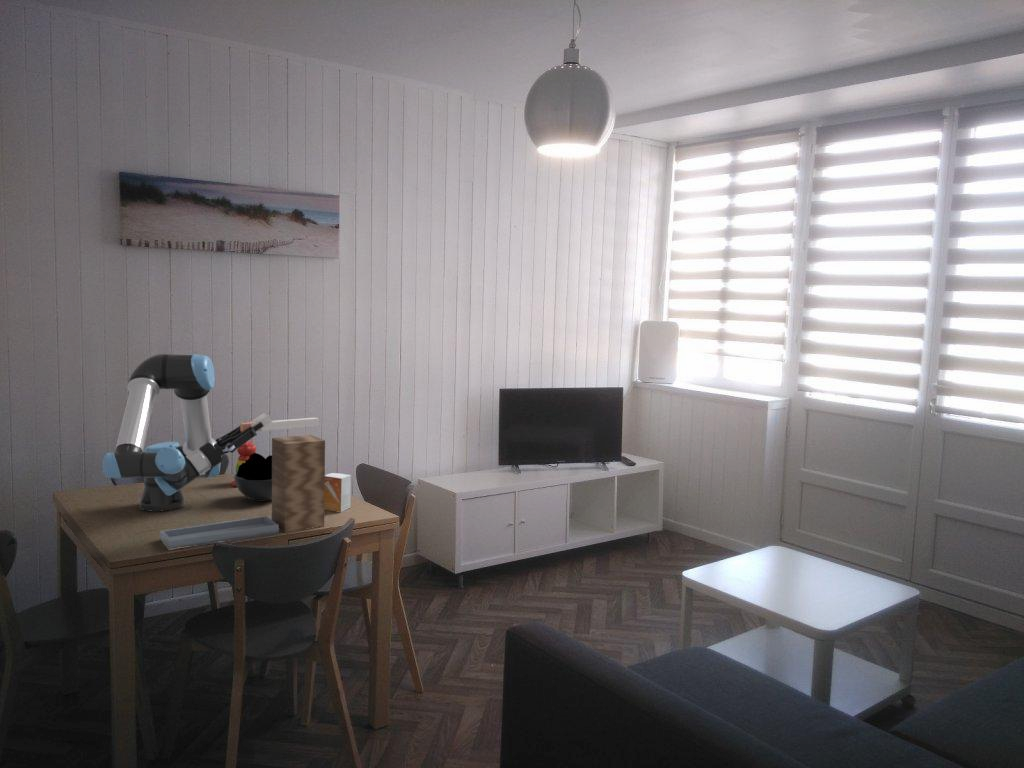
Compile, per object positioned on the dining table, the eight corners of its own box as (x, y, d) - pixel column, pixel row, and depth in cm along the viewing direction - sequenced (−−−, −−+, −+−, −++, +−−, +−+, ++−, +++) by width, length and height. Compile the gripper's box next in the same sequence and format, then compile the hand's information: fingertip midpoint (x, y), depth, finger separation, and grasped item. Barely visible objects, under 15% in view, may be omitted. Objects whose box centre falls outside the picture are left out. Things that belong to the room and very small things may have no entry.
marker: (243, 432, 247) (242, 424, 247) (240, 431, 249) (240, 423, 249) (319, 425, 263) (319, 418, 263) (315, 424, 265) (315, 417, 265)
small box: (322, 509, 283) (322, 475, 282) (332, 505, 289) (332, 472, 288) (341, 512, 280) (341, 478, 279) (350, 508, 286) (351, 474, 285)
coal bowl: (230, 507, 282) (230, 457, 280) (238, 493, 301) (238, 446, 299) (286, 506, 286) (286, 457, 284) (291, 493, 305) (291, 446, 303)
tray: (169, 550, 233) (169, 541, 233) (159, 540, 243) (159, 531, 242) (278, 533, 254) (278, 524, 253) (265, 524, 263) (265, 515, 263)
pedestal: (284, 532, 255) (285, 444, 252) (271, 523, 264) (272, 438, 261) (324, 526, 263) (325, 440, 260) (310, 517, 273) (311, 434, 270)
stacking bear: (241, 480, 323) (241, 438, 321) (264, 482, 322) (264, 440, 320) (228, 486, 312) (228, 443, 310) (252, 488, 311) (252, 445, 309)
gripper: (204, 463, 250) (265, 422, 261) (218, 472, 237) (282, 430, 248) (191, 444, 247) (254, 404, 258) (206, 453, 234) (271, 411, 245)
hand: (268, 417), depth 253 cm, fingers closed on marker, 3 cm apart
